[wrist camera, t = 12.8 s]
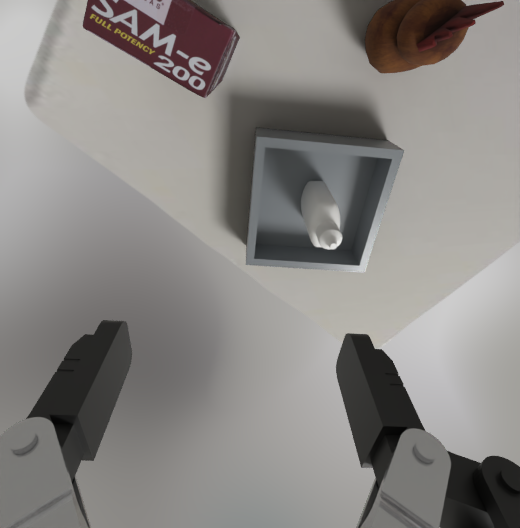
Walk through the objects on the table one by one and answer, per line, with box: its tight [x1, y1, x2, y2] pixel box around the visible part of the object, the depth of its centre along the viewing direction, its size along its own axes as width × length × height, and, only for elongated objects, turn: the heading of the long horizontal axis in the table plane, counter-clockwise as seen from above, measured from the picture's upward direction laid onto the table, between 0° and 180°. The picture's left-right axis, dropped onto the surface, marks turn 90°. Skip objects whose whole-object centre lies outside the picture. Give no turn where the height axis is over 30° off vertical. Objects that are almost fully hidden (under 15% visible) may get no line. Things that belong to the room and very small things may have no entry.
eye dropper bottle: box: [301, 181, 342, 250], centre depth 37 cm, size 4×6×12 cm
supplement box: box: [83, 0, 240, 98], centre depth 27 cm, size 9×5×16 cm, turn 61°
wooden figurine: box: [365, 0, 504, 73], centre depth 27 cm, size 7×6×15 cm
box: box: [246, 128, 404, 273], centre depth 41 cm, size 16×16×5 cm
